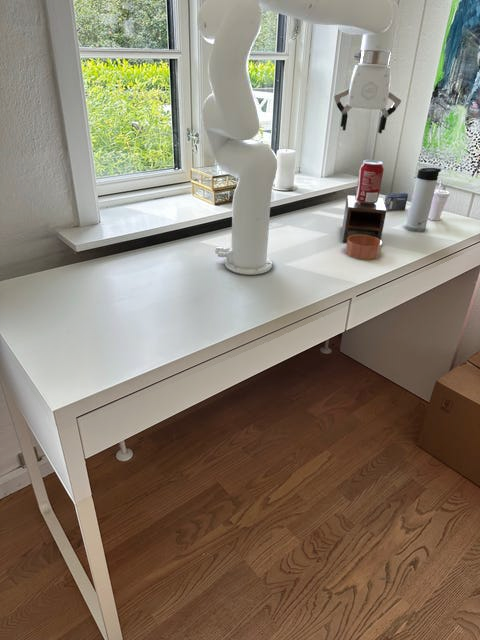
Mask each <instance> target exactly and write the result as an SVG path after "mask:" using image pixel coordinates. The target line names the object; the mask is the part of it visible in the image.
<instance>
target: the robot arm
mask: <svg viewBox="0 0 480 640" xmlns="http://www.w3.org/2000/svg"><path fill="white" fill-rule="evenodd" d="M262 12H272V13H276V14H279V15H283V16H287V17H290V18H293V19H296V20H298V21H302V22H305V23H309V24H315V25H321V26H322V25H323V26H336V28H337V29H338V30H339V31H340V32H341V33H343V34H345V35H362V37H361V43H360V44H361V45H360V51H358V52H354V53H353V60H355V61H357V62H358V63H357V64H355V65H354V68H353V70H352V75H351V78H350V79H351V80H350V82H349V88H347V89H345V90H342V91H340V92H338V93H336V94H334V96H333V98H334V101H335V104H336V107H337V108H338V110H339V111H340V112H341V119H340V128H342V131H344V132H345V131H346V130H347V123H348V117H349V115H348V112H349V111H350V110H351V109H352V108H355V109H365V110H379V111H380V113H381V116H380V119H379V124H378V129H377V132H378V134H382V133H383V131H385V130H386V124H387V120H388V117H390V116H391V115H392V114H393V113H395V111H396V110H397V108H398V107H399V106H400V104H401V103H402V100H401V99H400V98H399V97H397V96H396V95H395V94H393V93H392V92H391V91H390V89H391V79H392V67H391V66H389V65H390V59H391V52H392V48H393V42H394V38H395V32H396V26H397V21H398V15H399V4H398V3H397V2H396V1H392V0H205V1H203V3H202V4H201V5H200V8H199V10H198V13H197V19H196V20H197V21H196V22H197V29H198V32H199V34H200V36H201V37H202V38H203V40H204V41H206V42H208V43H209V44H212V45H211V49H210V52H209V57H208V62H207V74H208V81H209V85H210V88H211V91H212V93H211V94H209V95H208V97H206V99H205V100H204V102H203V104H202V108H201V123H202V128H203V130H204V133H205V135H206V138H207V141H208V144H209V147H210V149H211V152H212V155H213V158H214V160H215V162H216V165H217V166H218V168H219V170H221V171H222V172H223V173H225V174H227V175H229V176H231V177H234V178H236V179H238V181H237V184H236V187H235V188H234V191H233V196H232V209H231V210H232V212H231V246H227V247H222V246H216V247H215V250H214V251H215V252H214V253H215V255H217V257H218V258H225V261H224V266H225V267H226V269H228V270H229V271H231V272H233V273H236V274H240V275H246V276H247V275H250V276H251V275H253V276H255V275H260V274H261V275H262V274H265V273H267V272H269V271H270V270H272V268H273V261H272V259H271V258H269V257H268V244H269V229H270V228H269V227H270V215H271V203H272V193H273V192H272V191H273V186H274V182H275V179H276V175H277V172H278V171H277V170H278V158H277V155H276V153H275V151H274V150H273V149H272V147H271V146H269V145H268V144H266V143H264V142H261V141H258V140H254V138H255V137H256V136H257V135H258V133H259V131H260V130H261V129H260V128H261V115H260V111H259V107H258V104H257V100H256V96H255V92H254V89H253V85H252V81H251V77H250V73H249V60H250V54H251V53H252V49H253V46H254V45H255V42H256V41H257V39H258V37H259V34H260V32H261V29H262V25H263V14H262ZM346 96H347V104H346V105H345V106H344V105H343V104H342V101H341V99H342V98H344V97H346ZM388 100H391V101H392V102H393V104H392V105H391V106H390V107H389V108H388V109H387V108H386V107H387V105H388V102H389V101H388Z"/></svg>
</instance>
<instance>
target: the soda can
mask: <svg viewBox="0 0 480 640" xmlns="http://www.w3.org/2000/svg"><path fill="white" fill-rule="evenodd" d="M384 170H385V169H384V167H383V162H382V161H380V160H376V159H365V160H363V161H362V164H361V165H360V167H359V171H358V176H357V177H358V178H357V184H356V190H355V195H354V196H355V200H356V201H357V202H358V203H360V204H364V205H372V204H374V203H377V202H378V198H380V197H379V196H380V192H381V185H382V180H383V176H384V175H383V174H384Z"/></svg>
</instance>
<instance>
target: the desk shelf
mask: <svg viewBox="0 0 480 640" xmlns="http://www.w3.org/2000/svg"><path fill="white" fill-rule="evenodd" d="M355 196H356V195H348V194H347V195H346V201H345V208H344V214H343V219H342V229H341V230H342V233H341V235H342V243H346V244H347V238H348V234H349V231H358V232H368V233H369V232H370V233H373V237H377V238H378V239H380V240H381V241H382V235H383V231H384V225H385V220H386V214H387V211H386V207H385V204H384V202H385V200H384V199H383V197H378V202H377V203H374V204H372V205H364V204H360V203H358V202H357V201H356V200H355Z"/></svg>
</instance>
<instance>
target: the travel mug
mask: <svg viewBox="0 0 480 640" xmlns="http://www.w3.org/2000/svg"><path fill="white" fill-rule="evenodd" d="M441 172H442V168H437V167H423V168H420V169H418V172H417V175H416V179H415V185H414V188H413V193H412V197H411V201H410V206H409V211H408V215H407V220H406V223H405V229H407V230H408V231H411V232H420V233H421V232H424V231H425V230H426V229H427V224H428V220H429V219H428V216H429V212H430V208H431V204H432V200H433V196H434V192H435V189H437V188H436V187H437V183H438V182H437V181H438V178H439V175H440V173H441Z"/></svg>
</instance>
